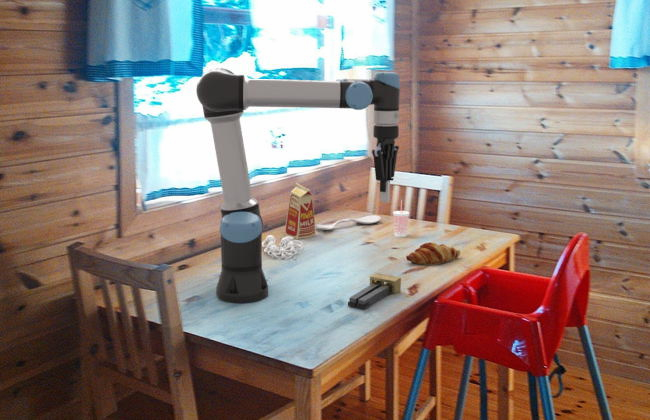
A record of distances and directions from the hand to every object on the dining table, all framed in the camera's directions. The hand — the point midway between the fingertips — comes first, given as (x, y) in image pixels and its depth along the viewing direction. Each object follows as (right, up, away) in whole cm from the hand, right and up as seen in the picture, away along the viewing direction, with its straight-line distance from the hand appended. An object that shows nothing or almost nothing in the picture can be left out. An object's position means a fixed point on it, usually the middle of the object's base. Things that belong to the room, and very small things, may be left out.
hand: (384, 201), depth 225 cm
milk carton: (-27, -12, +55) cm, 63 cm away
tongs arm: (-6, -28, -13) cm, 31 cm away
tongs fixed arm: (-3, -28, -12) cm, 30 cm away
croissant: (+19, -20, +23) cm, 36 cm away
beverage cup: (+11, -12, +56) cm, 58 cm away
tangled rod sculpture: (-33, -18, +35) cm, 51 cm away
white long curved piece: (-9, -10, +69) cm, 70 cm away
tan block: (0, -26, -6) cm, 27 cm away
